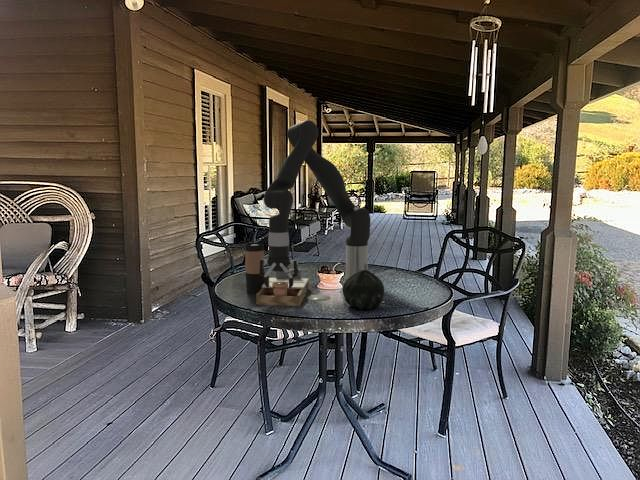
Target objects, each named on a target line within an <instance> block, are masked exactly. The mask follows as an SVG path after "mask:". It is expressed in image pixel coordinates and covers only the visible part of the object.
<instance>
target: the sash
mask: <svg viewBox="0 0 640 480" xmlns="http://www.w3.org/2000/svg"><path fill="white" fill-rule="evenodd" d="M289 269H290V270H291V272H292V273H294V268H289ZM289 278H290V277H289V276H288V275H287V274H286V273H285V271H283V272H280V271H275V277H269V287H266V286H265V283H264V284H263V285H262V288H273V287H272V283H274V282H280V281H281V282H287V283H288V287H287V288H289ZM308 280H309V278H302V269H301V268H300V269H299V268H298V276H297V277H294V278H293V286H292V287H291V288H295V289H303V288H304V287H305V285H306V283H307V282H308ZM305 288H306V287H305Z"/></svg>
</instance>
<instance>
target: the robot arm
mask: <svg viewBox="0 0 640 480" xmlns="http://www.w3.org/2000/svg"><path fill="white" fill-rule="evenodd" d="M286 134H287V140H288V142H289V143H290V144H291V145H290V146H292V148H293V149H292V150H291V152H290V153H289V154H288V156H287V157H286V158H285V159H284V161H283V162H282V164H281V166H280V168H279V171H278V173H277V176H276V178H274V180H273V181H272V182H271V184H270V185H269V186H268V187H267V189H266V191H265V192H264V195H263V203H264V205H265V206H266V207H267V208H268V209H271V210H272V209H274V210H275V209H276V210H277V209H278V210H279V213H278V214H274V215H271V216H270V217H269V219H268V241H267V244H268V258H267V259H265V258H264V259H261V260H260V270H259V275H260V276H261V275H262V276H264V278H265V286H266V287H269V278H270V274H271V273H272V272H276V271H280V272H283V271H285V273H286V274H287V275H288V276H289V277H290V278H289V288H291V287H292V286H293V278H294V277H297V276H298V269H299V263H298V261H299V260H298V259H292V260H291V259H290V235H289V220H290V219H289V218H290V215H291V210H292V209H293V203H294V196H293V193H292V191H290V190H291V189H292V188H294V186H295V185H296V181H297V178H298V176H299V173H300V171H301V169H302V166H303V164H304V163H305V164H306V165H307V166H308V168H309V169H310V170H311V172H312V174H313V175H314V177H315V178H316V180H317V182H318V184H319V185H320V186H321V188H322V189H323V191H324V192H325V194H326V195H327V196H328V199H330V201H331V202H332V203H333V204H334V207H335V208H336V210H337V212H338V215H339V216H340V218H341V219H342V222H343V224H344V225H345V226H346V227H348V228H350V235H349V236H348V237H347V238H346V239H345V281H346V280H347V279H348V278H349V277H351V276H352V275H354V274H355V273H357V272H359V271H361V270H368V264H369V263H368V248H369V245H368V243H369V240H370V237H371V215H370V212H369V210H367V209H366V208H365V207H364V208H363V207H358V206H356V205H355V204H354V203H353V200H352V199H351V198H350V196H349V195H348V192H347V187H346V183H345V180H344V178H343V176H342V174H341V172H340V171H339V169H338V167H336V165H335V164H334V163H333V162H332V161H330V160H328V159H327V158H326V157H324V156H322V155H320V154H319V153H317V151H316V150H315V149H314V148H313V147H314V145H315V143H316V141H317V139H318V138H319V129H318V126H317V124H316V123H315V122H313V121H312V120H308V119H306V120H303V121H300V122H298V123H296V124H294V125H291V126H290V127H288V129H287V132H286ZM267 264H268V266H269V268H268V269H267V271H266V272H264V265H265V266H266V265H267ZM289 265H291V266H292V267H293V269H294V273H292V272H291V270H290V269H291V268H290V267H289ZM368 271H369V270H368Z"/></svg>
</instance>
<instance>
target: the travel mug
mask: <svg viewBox="0 0 640 480" xmlns="http://www.w3.org/2000/svg"><path fill="white" fill-rule="evenodd" d="M244 257H245V258H244V260H245V267H244V269H245V270H244V271H245V288H246V293H249V294H257V293H258V292H259V291H260V290H261V289H262V285H263V284H264V283H265V278H264V276H262V275H261V276H260V275H259V270H260V260H261V259H265V244H264V243H262V242H247V243H245V244H244ZM265 266H266V265H264V272H265V271H266V270H265ZM265 273H266V272H265Z"/></svg>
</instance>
